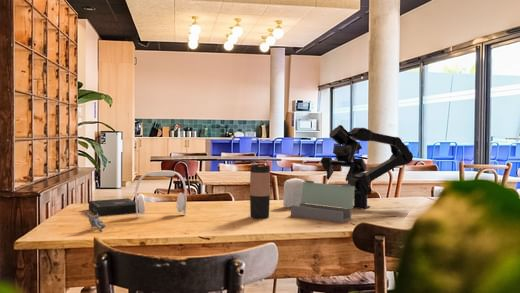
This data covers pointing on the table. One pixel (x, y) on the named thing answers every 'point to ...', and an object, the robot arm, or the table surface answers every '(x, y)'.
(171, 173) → the headset
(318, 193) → the duct cover
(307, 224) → the table surface
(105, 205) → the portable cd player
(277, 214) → the table surface
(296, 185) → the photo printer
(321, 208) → the cable duct
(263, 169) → the travel mug
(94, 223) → the elephant figurine
